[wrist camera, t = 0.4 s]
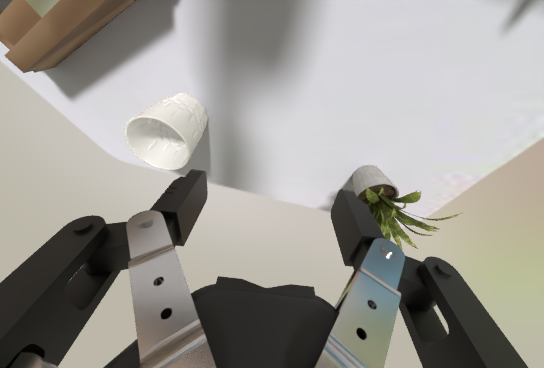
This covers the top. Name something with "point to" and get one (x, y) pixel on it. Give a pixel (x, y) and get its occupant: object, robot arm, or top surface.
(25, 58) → the box
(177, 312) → the robot arm
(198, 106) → the white cup
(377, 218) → the house plant
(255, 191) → the top surface
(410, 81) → the top surface
